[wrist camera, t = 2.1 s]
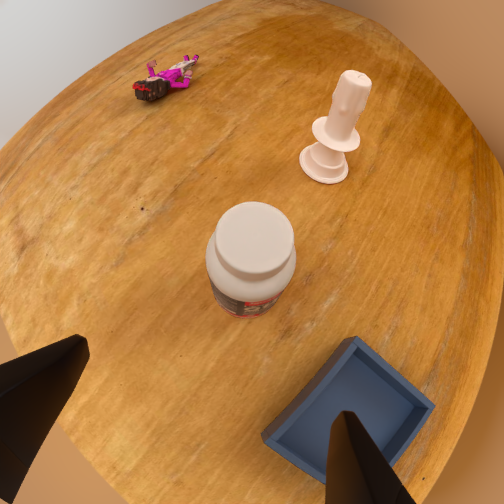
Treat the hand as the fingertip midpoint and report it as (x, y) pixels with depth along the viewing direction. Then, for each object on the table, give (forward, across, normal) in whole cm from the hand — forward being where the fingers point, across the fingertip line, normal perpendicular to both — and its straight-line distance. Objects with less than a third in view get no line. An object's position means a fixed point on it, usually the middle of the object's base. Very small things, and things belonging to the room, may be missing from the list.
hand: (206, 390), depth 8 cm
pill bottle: (+14, 0, +4) cm, 15 cm away
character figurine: (+32, +17, -12) cm, 38 cm away
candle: (+25, -4, -6) cm, 26 cm away
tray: (+8, -11, +11) cm, 17 cm away
